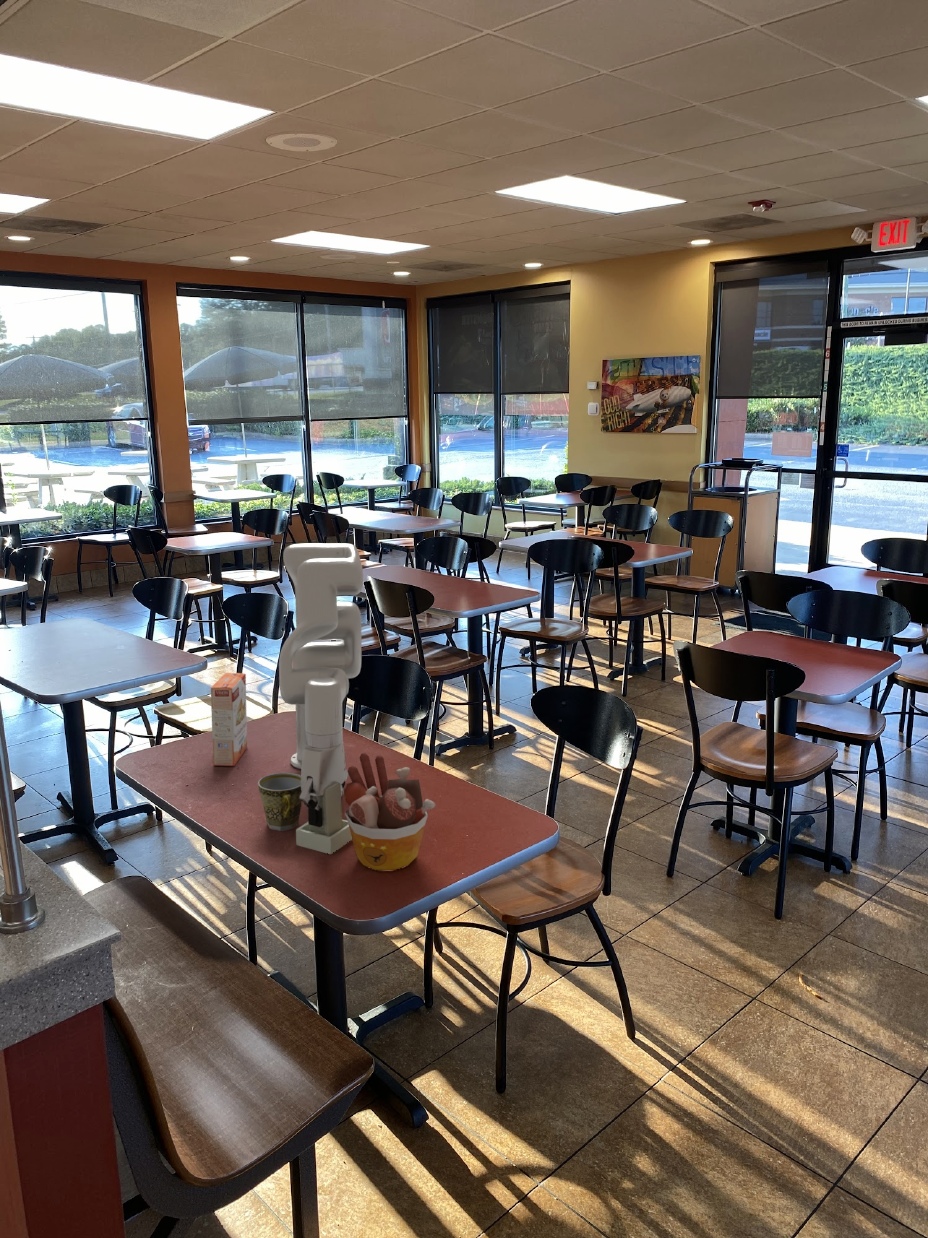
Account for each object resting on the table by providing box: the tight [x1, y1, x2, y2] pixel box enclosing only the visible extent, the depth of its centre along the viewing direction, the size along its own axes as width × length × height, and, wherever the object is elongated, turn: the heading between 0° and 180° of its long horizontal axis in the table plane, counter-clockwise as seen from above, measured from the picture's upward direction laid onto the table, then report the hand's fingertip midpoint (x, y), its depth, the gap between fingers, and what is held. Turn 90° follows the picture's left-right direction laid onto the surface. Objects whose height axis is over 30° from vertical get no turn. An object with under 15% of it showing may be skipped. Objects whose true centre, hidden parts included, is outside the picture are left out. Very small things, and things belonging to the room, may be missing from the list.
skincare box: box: [309, 782, 343, 837], centre depth 193 cm, size 6×4×12 cm
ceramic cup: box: [257, 772, 303, 832], centre depth 199 cm, size 13×10×10 cm
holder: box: [295, 818, 353, 855], centre depth 194 cm, size 9×9×4 cm
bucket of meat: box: [343, 752, 436, 871], centre depth 185 cm, size 20×16×20 cm
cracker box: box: [210, 672, 248, 767], centre depth 238 cm, size 14×6×21 cm, turn 179°
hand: (325, 818), depth 193 cm, fingers open, 6 cm apart
